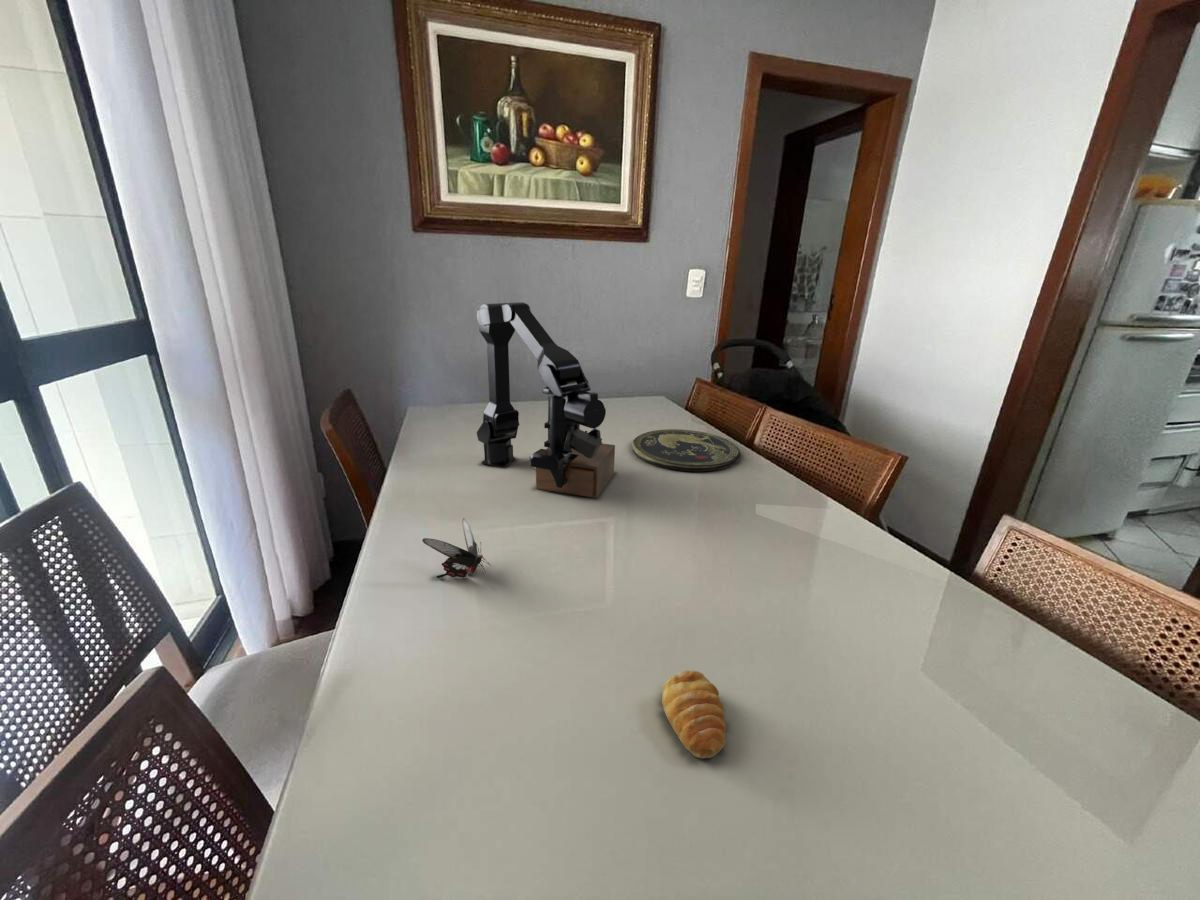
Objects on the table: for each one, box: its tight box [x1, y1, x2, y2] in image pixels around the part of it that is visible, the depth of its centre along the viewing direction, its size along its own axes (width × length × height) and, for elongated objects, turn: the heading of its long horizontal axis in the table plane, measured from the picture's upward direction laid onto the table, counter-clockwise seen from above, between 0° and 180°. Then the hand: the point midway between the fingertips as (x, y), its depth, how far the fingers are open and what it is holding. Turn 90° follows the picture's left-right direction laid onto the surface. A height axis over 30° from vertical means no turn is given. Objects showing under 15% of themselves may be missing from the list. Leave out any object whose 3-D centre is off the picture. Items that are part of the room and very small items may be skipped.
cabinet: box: [535, 442, 616, 499], centre depth 115 cm, size 15×15×8 cm
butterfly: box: [421, 517, 491, 579], centre depth 79 cm, size 11×8×10 cm
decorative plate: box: [631, 428, 741, 472], centre depth 136 cm, size 30×2×30 cm
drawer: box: [535, 467, 594, 498], centre depth 113 cm, size 15×13×6 cm
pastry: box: [661, 670, 727, 759], centre depth 55 cm, size 9×7×4 cm
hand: (560, 487), depth 106 cm, fingers closed
